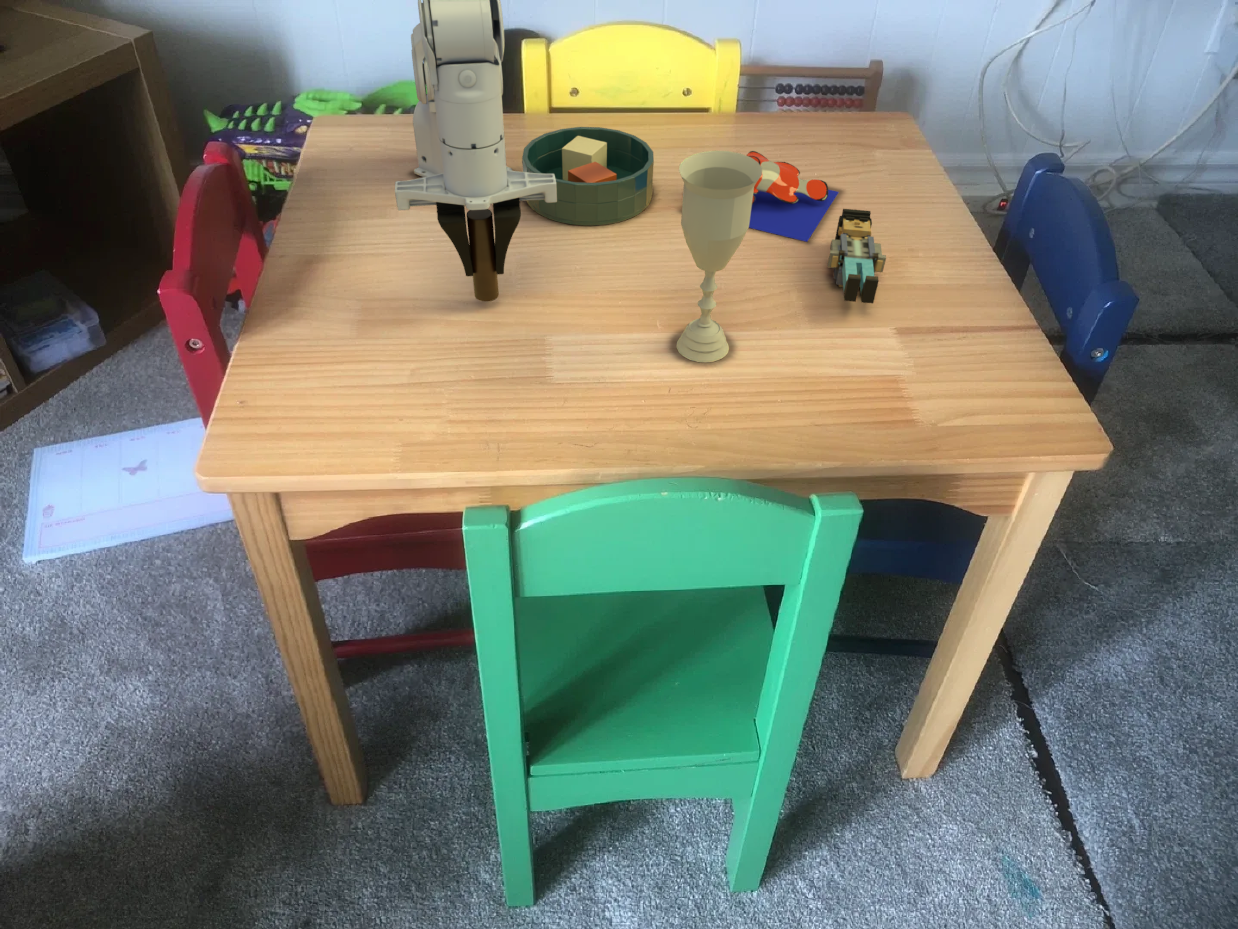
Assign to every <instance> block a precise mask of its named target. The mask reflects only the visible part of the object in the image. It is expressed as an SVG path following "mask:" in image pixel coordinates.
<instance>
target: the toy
mask: <svg viewBox="0 0 1238 929" xmlns="http://www.w3.org/2000/svg"><path fill="white" fill-rule="evenodd" d="M872 226H873V221H872V218H871V210H865V209H864V210H862V209H851V208H843V209H842V212H841V215H839V217H838V222H837V228H836V231H835V237H834V238H832V239H831V243H830V248H829V256H828V261H827V268H831V269H833V280H835V282H836V283H835V284H836V286H837V285H838V288H842V289H843V290H842V292H843V301H844V302H854V303H856V302H857V298H858V294H859V293H860V302H861V303H865V304H874V302H875V298H876V293H877V289H878V286H879V280H880V279H879V276H875V274H876V273H884V269H885V264H886V260H887V255H886V254H883V250H882V243H880V242H879V243H878V242H875V237H874V236H872ZM859 290H860V292H859Z"/></svg>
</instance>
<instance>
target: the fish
mask: <svg viewBox="0 0 1238 929" xmlns="http://www.w3.org/2000/svg"><path fill="white" fill-rule="evenodd" d="M745 155H746V156H749V157H751V158H752V159H754V160H755V161H757V162H758V163H759V165H760V166H761V168H762V175H761V177H760V178H759V180H758V181H757V183H756V184H755V186H754V191H753V195H757V194H759V193H760V192H762V193H767V194H770V195H772V196H773V197H774V198H776V199H777V200H779V201H781V202H783V203H785V204H789V205H794V204H796V203H797V202H798V201H799V197H798V196H797V195H796V194H802V195H805V196H807V197H808V198H810V199H812V200H815V201H818V202H824V201H826V200H827V198H828V196H829V190H830V189H829V185H828V183H827V182H826V181H824V180H821V179H816V178H815V179H814V178H812V179H803V178H800V177H799V176H800V174H801V172H800V169H799V168H797V167H796V166H795V165H794V164H792V163H789V162H787V161H771V160H769V159H768V158H767V157H765V156H764V154H762V153H760V152H758V151H755V150H750V151H749V152H748V153H747V154H745Z"/></svg>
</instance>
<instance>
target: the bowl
mask: <svg viewBox="0 0 1238 929" xmlns="http://www.w3.org/2000/svg"><path fill="white" fill-rule="evenodd" d="M577 136H581V137H585V138H590V139H594V140H598V141H602V142H606V143H607V169H609V170H611V171H612V172H614V173H616V174H617V179H616V180H614V181H606V182H599V183H581V182H571V181H566V180H563V169H562V148H563V147H564V146H566V145H567V144H568V143H569V142H571V141H572V140H573V139H574V138H576V137H577ZM654 158H655V156H654V151H653V149H652V148H651V147H650V146H649V144H648V143H647V142H646V141H645V140H643V139H641V138H640V137H638V136H636V135H634V134H631V133H628V132H625V131H622V130H618V129H613V128H606V127H601V126H600V127H599V126H576V127H567V128H560V129H556V130H553V131H549V132H546V133H543V134H541V135H539V136H537V137H535V138H533V139H532V140H530V141H529V142H528V143H527V145H525V147H524V148H523V151H522V157H521V160H522V162H521V163H522V172H529V173H539V174H554V175H555V179H556V188H557V202H552V203H547V202H545V199H543V200H525V201H526V203H527V205H528V207H530V209H531V210H533V211H534V212H535V213H537V214H538V215H540V216H541V217H544V218H546V219H549V220H551V221H554V222H558V223H562V224H567V225H572V226H573V225H574V226H587V227H589V226H590V227H591V226H605V225H611V224H616V223H622V222H625V221H627V220H630V219H632V218H634V217H636V216H638V215H639V214H641V213H642V212H644V211H645V210H646V209H647V208H648V207H649V205H650V204H651V200H652V197H653V182H654V164H655V161H654Z"/></svg>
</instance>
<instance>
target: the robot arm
mask: <svg viewBox="0 0 1238 929" xmlns="http://www.w3.org/2000/svg"><path fill="white" fill-rule="evenodd" d="M502 7H503V6H502V2H501V0H417V10H418V19H419V23H417V24H416V25H415V26H414V27H413V28H412V33H411V34H410V44H411V59H412V60H411V62H412V69H413V76H414V86H415V93H416V98H417V100H418V101H417V103H416V105H415V107H414V110H413V115H412V128H413V134H414V142H415V149H416V150H415V151H416V155H417V156H416V157H417V164H418V167H415V168H414V170H413V173H414V174H415V175H417V176H420V177H419V178H414V179H408V180H407V179H405V180H396V181H395V182H394V194H395V195H394V196H395V201H396V207H397V211H398V212H399V211H401V212H402V211H410V209H411V207H427V206H436V215H437V216H436V217H437V222H438V224H439V226H440V229H442V231H443V232H444V233H445V234H446V236H447V237H448V239H449V240H450V242H451V243H452V245H453V246H454V248H455V250H456V252H457V255H458V256H459V259H460V261H461V264H462V266H463V269H464V274H465V277H473V269H472V261H471V254H470V245H469V235H468V226H467V216H466V209H467V210H468V211H469V210H485V209H490V207H491V205H492V214H493V226H494V241H495V253H496V272H497V276H498V275H504V274H505V263H506V258H507V253H508V249H509V247H510V243H511V240H512V239H513V235H514V233H515V231H516V229H517V227H518V225H520V221H521V217H522V211H521V201H522V202H523V201H526V200H543V199H545V202H547V203H552V202H557V188H556V179H555V175H554V174H539V173H529V172H523V171H518V170H513V168H512V167H510V166H507V154H506V153H507V152H506V141H505V140H506V139H505V124H504V109H503V94H504V80H503V78H504V77H503V67H502V62H503V61H504V54H505V26H504V16H503V8H502Z"/></svg>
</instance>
